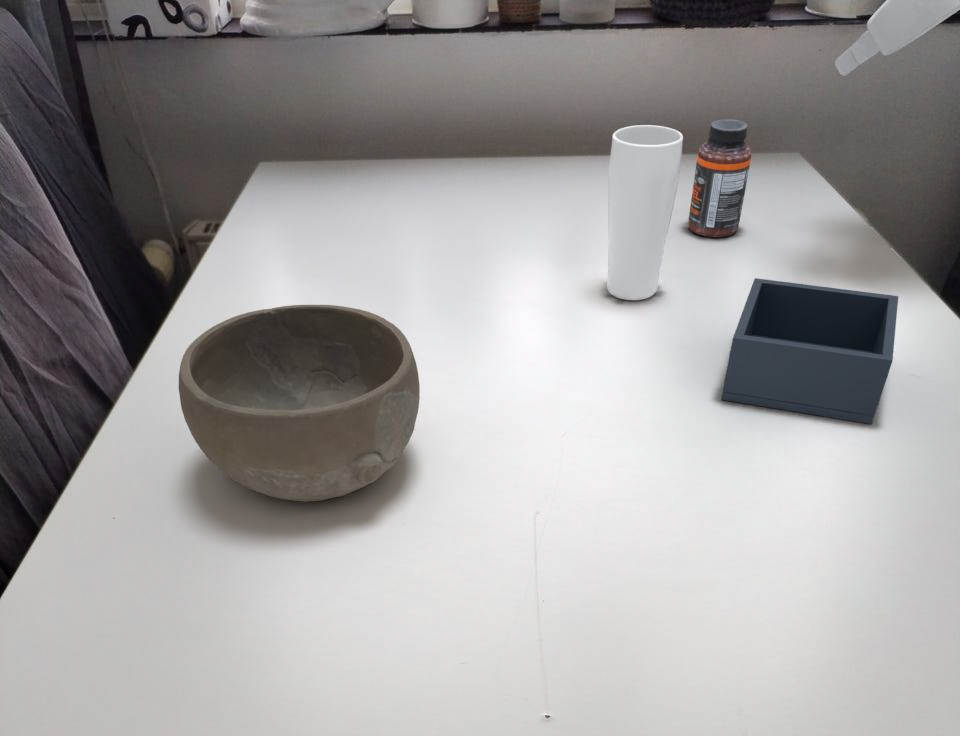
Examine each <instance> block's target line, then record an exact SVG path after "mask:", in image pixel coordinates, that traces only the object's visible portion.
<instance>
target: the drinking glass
mask: <svg viewBox="0 0 960 736" xmlns="http://www.w3.org/2000/svg"><path fill="white" fill-rule="evenodd" d="M683 135H684V134H682V132H680V131H679V130H677V129H674V128H671V127H667V126H663V125H654V124H653V125H652V124H640V125H639V124H638V125H637V124H636V125H630V126H629V125H628V126H625V127H621V128H619V129H617V130H615V131H614V132H613V134H612V136H611V137H612V138H611V145H610V155H609V164H608V179H607V181H608V183H607V274H606V275H607V276H606V288H607V291H608V293H609V294H610V295H611V296H613V297H615V298H617V299H620V300H625V301H641V300H646V299H648V298H650V297H652V296H654V295H655V294H656V293H657V290H658V287H659V281H660V272H661V267H662V262H663V257H664V253H665V249H666V248H665V247H666V243H667V239H668V234H669V229H670V224H671V221H672V220H671V219H672V215H673V211H674V205H675V200H676V195H677V192H678V186H679V180H680V179H679V178H680V173H681V165H682V157H683V155H682V154H683V143H684V136H683Z"/></svg>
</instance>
